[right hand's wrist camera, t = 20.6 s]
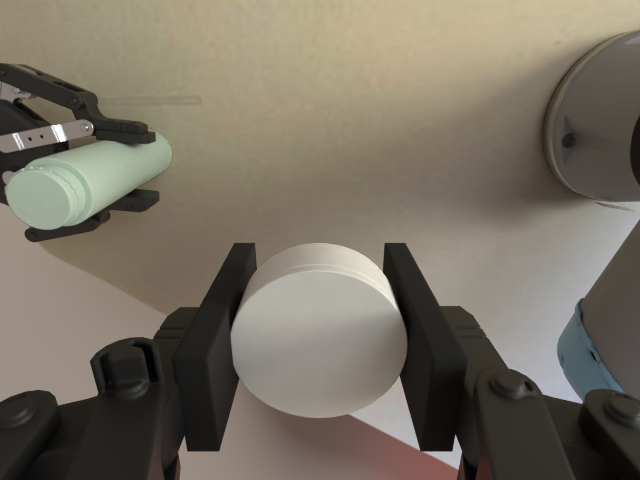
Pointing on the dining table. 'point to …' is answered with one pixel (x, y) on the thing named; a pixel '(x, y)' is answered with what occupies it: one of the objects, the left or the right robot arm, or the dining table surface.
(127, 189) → the pale green cylinder
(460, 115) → the dining table surface
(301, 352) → the lid
